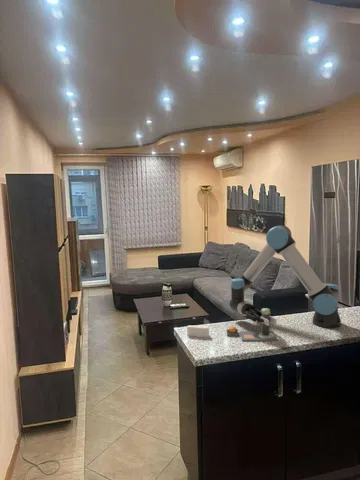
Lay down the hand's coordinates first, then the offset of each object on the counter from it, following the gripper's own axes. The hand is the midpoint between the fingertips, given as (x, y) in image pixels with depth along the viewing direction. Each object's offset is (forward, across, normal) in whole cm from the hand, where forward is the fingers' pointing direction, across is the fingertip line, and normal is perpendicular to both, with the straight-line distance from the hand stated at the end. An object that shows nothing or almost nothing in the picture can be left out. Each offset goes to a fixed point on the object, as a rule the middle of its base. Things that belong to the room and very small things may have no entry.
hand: (272, 322), depth 179 cm
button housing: (-16, +14, -10) cm, 23 cm away
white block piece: (-23, +31, -10) cm, 40 cm away
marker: (-5, 0, -8) cm, 9 cm away
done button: (-16, +14, -10) cm, 23 cm away
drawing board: (-7, +4, -10) cm, 12 cm away
